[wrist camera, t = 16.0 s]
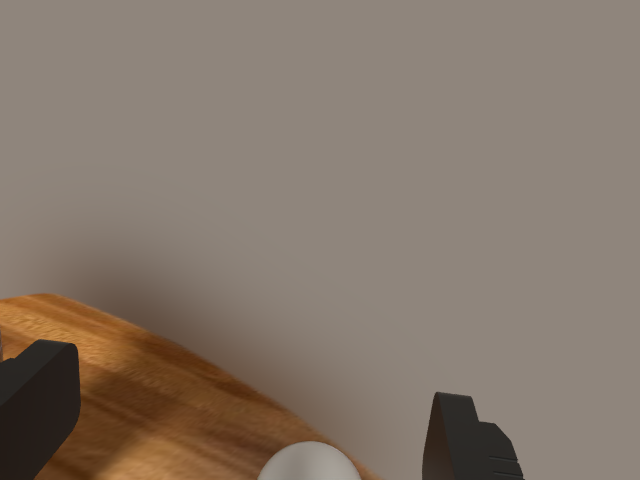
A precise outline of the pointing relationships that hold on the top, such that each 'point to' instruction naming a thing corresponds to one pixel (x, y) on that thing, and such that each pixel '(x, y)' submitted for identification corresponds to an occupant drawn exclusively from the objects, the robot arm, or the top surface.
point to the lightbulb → (309, 463)
